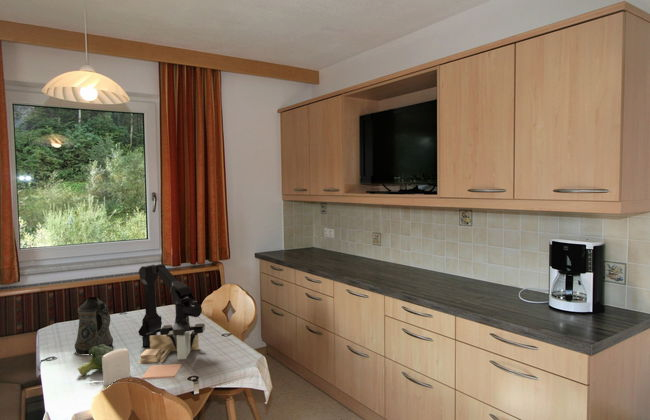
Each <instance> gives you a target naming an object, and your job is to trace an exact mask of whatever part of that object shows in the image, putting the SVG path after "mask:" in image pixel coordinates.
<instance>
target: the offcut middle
mask: <svg viewBox="0 0 650 420" xmlns="http://www.w3.org/2000/svg"><path fill="white" fill-rule="evenodd" d="M162 354H163V351H161V352H160V353H159V354H158V356H157V357H156V358H147V359H141V357H140V358H139V362H152V363H155V362H154V361H158V362H159V360H160V359H159V358H160V357H161V355H162ZM158 359H159V360H158Z"/></svg>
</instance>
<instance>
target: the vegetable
mask: <svg viewBox="0 0 650 420" xmlns="http://www.w3.org/2000/svg"><path fill="white" fill-rule="evenodd" d="M113 350H115V349H114V348H113V347H112V348H111V347H109V346H106V345H104V344H101V345H99V346H94V347H92V348H91V349H90V350H89V355H88V356H91V357H90V360H89V361H88V362H87V363H84V364H82V365H80V366H78V367H77V371H78V372H79V374H80V375H81V376H82V375H84V376H86V375H87V374H88V373H90V371H92V370H99V372H100V373H102V374H103V368H102V357H103V356H104V355H105V354H107V353H109V352H111V351H113ZM91 354H92V355H91Z"/></svg>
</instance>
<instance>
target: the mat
mask: <svg viewBox="0 0 650 420" xmlns="http://www.w3.org/2000/svg"><path fill="white" fill-rule="evenodd" d="M182 365H183V363H177V364H176V363H175V364H174V363H172V364H159V365H158V364H157V365H156V364H154V365H150V367H148V368H147V370H146V371H145V372H144V374H143V375H142V376H141V380H151V379H165V378H169V379H170V378H175V377H176V374H177V373H178V371H179V369H180V368H181V366H182Z"/></svg>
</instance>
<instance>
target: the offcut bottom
mask: <svg viewBox="0 0 650 420" xmlns="http://www.w3.org/2000/svg"><path fill="white" fill-rule="evenodd" d="M163 354H164V353H162V355H163ZM162 355H161V357H162ZM161 357H160V358H161ZM160 358H159V359H158V361H154V362H140V361H138V364H148V363H149V364H151V363H158V362H159V361H160Z"/></svg>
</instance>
